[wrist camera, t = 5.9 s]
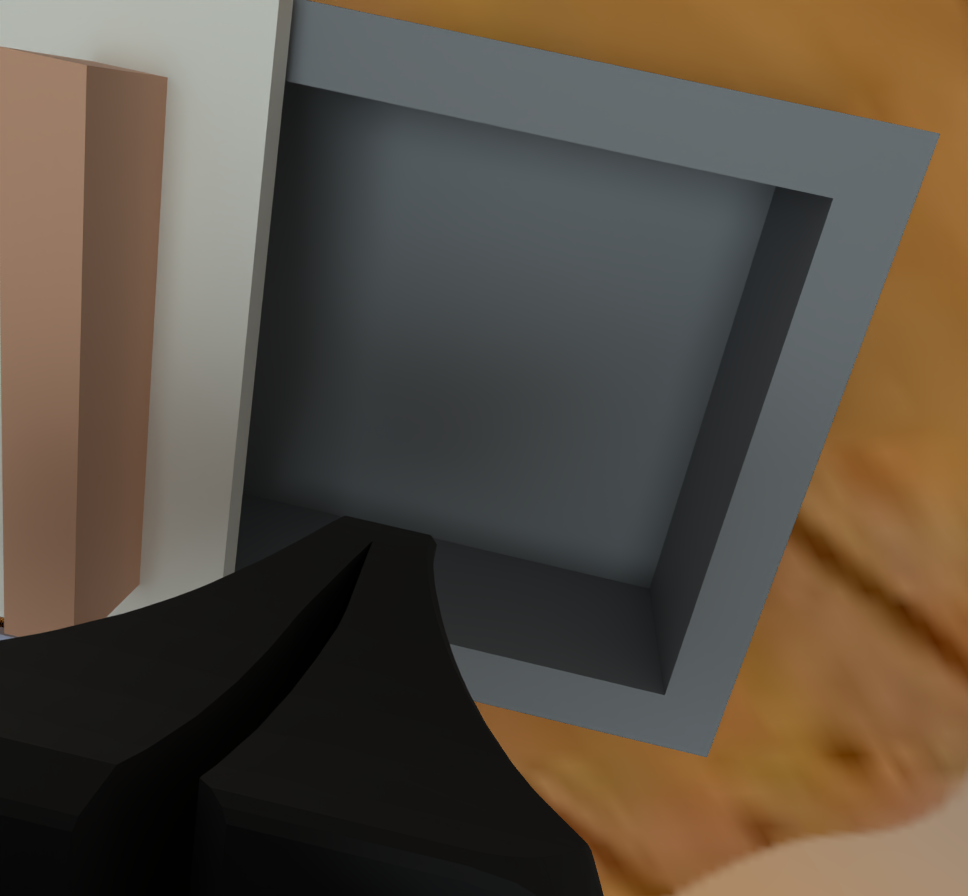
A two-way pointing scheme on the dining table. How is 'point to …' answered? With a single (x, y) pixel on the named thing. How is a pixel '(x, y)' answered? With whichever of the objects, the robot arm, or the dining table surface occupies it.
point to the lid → (129, 293)
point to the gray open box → (562, 348)
